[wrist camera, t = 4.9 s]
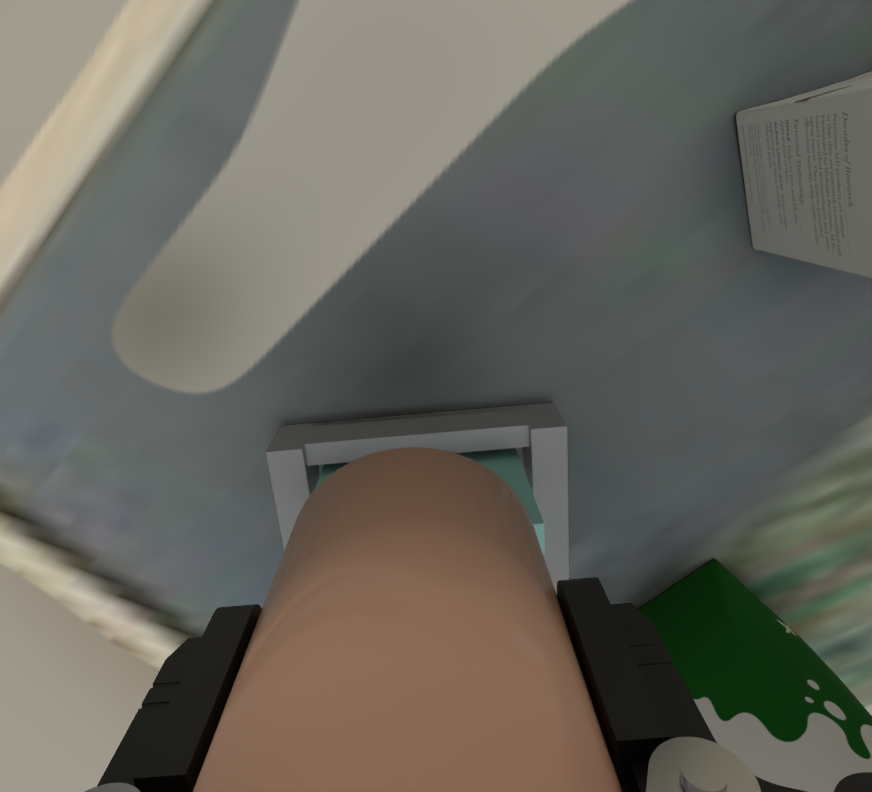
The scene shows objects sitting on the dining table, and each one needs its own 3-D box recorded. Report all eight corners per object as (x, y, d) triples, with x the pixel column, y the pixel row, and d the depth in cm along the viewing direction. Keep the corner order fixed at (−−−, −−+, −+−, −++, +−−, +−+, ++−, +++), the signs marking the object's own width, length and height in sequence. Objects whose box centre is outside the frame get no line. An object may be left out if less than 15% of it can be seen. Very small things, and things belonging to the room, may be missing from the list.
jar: (534, 436, 13) (729, 860, 5) (540, 652, 15) (690, 1228, 7) (269, 458, 13) (11, 918, 5) (308, 670, 15) (168, 1269, 7)
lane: (552, 402, 28) (585, 456, 22) (557, 664, 33) (586, 763, 27) (281, 425, 28) (246, 485, 22) (326, 684, 33) (307, 787, 27)
